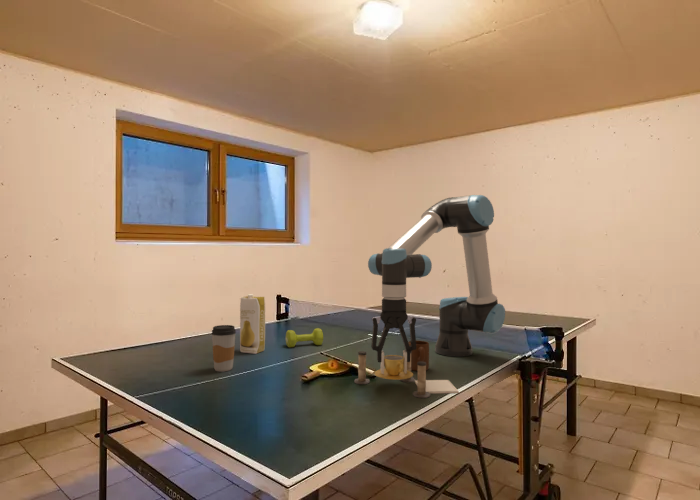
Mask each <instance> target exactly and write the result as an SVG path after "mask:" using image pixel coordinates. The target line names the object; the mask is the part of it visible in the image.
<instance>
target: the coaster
mask: <svg viewBox="0 0 700 500" xmlns="http://www.w3.org/2000/svg"><path fill="white" fill-rule="evenodd" d="M417 380H418V379H415V381H414V383H415V385H416V386H417ZM426 392H429V393H430V394H459V390H458V389H457V388H456V387H455V386H454V384H453V383H452V382H451V381H450V379H426Z"/></svg>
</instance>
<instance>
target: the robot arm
mask: <svg viewBox="0 0 700 500" xmlns="http://www.w3.org/2000/svg"><path fill="white" fill-rule="evenodd" d="M494 218H495V211H494V207H493V204H492V202H491V200H490V199H489V198H488V197H487V196H485V195H482V194H478V195H477V194H470V195H464V196H455V197H446V198H444V199H442V200H440V201H438V202H436V203H434V204H433V205H431V206H430V207H429V208H428V209H426V210H424V212H423V213H422V214H421V216H420V219H419V220H418V221H416V223H415V224H413V225H412V226H411V227H410V228H409V229H408V230H406V232H405V233H403V234H402V235H400V237H399V238H398V239H396V240H395V241H394V242H393V243H392V244H391V245H390V246H389V247H388V248H387V247H386V248H384V249H383V250H382V252H381V253H380V252H379V253H373V254H372V255H371V256H369V258H368V262H367V267H368V270H369V272H370V273H371V274H373V275H377V276H380V277H381V296H382V297H383V298H382V299H381V313H380V315H379V316H372V318H371V321H372V325H373V327H372V335H371V346H370V347H371V349H372V350H373V351H376V360H377V362H378V363H380V369H381V374H384V369H385V367H384V356H385V351H384V350H383V348H384V345H385V342H386V339H387V337H388V333H389V331H390V329H398V331H399V334H400V336H401V339H402V342H403V346H404V349H403V350H402V356H403V357H404V364H403V365H404V370H403V372H404V374H407V362H410V352H411V351H412V350H416V341H417V337H416V322H417V318H415V317H414V316H409V315H408V314H407V299H406V297H407V279H409V278H410V279H411V278H412V279H413V278H419V279H421V278H423V277H426V276H429V274H430V272H431V271H432V268H433V267H432V265H433V264H432V261H431V259H430V257H429V256H427V255H425V254H420V253H418V254H414V253H415V252H416V251H417V250H418V249H419V248H420V247H421V246H422V245H424V244H425V243H426V241H429V239H430V238H431V237H432V236H434V234H438V233H439V232H441V231H442V230H444V229H447V228H456V229H457V230H456V231H457V234H458V235H460V236H461V237H462V243H463V251H464V259H465V267H466V276H467V282H468V291H469V296H455V297H444V298H442V299H440V301H439V308H438V309H439V331H438V332H439V334H438V336H437V338H436V339H437V340H436V343H435V345H434V351H435V353H436V354H439V355H442V356H447V357H468V356H471V355H473V346H472V343H471V339H470V337H469V331H472V332H473V331H474V332H480V333H484V334H496V333H498V332H499V331H501V329H502V327H503V325H504V323H505V318H506V309H505V306H504V305H503V304H502V303H499V302H498V297H497V295H495V294H494V293H493V285H492V278H491V268H490V261H489V253H488V250H489V249H488V241H487V235H486V234H487V232H489V230H490V226H491V225H492V224H493V222H494ZM380 321H382V322H383V324H384V326H383V330H382V332H381V336H380V338H379V342H378V341H377V340H378V332H379V331H378V330H379V329H378V328H379V326H378V325H379V324H380ZM406 321H407V323H408V325H409V337H410V341H411V346H409V343H408V342H409V341H408V337H407V335H406V334H407V333H406V331H405V328H404V324H405V323H406ZM377 342H378V345H377Z"/></svg>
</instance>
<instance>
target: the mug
mask: <svg viewBox="0 0 700 500" xmlns="http://www.w3.org/2000/svg"><path fill="white" fill-rule="evenodd" d="M408 343H409V346H411V340H410V341H408ZM419 361H423V362H426V371H428V370H429V368H430V343H429V341H424V340H416V350H412V353H411V371H415V372H418V365H417V362H419Z"/></svg>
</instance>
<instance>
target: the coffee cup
mask: <svg viewBox="0 0 700 500" xmlns="http://www.w3.org/2000/svg"><path fill="white" fill-rule="evenodd" d="M236 330H237V329H236V328H235V326H234V325H232V324H230V325H229V324H223V325H222V324H221V325H215V326H213V327H212V329H211V335H212V336H211V338H212V339H211V340H212V356H213V357H212V359H213V368H214V370H215V372H220V373H221V372H229V371H232V370H233V368H234V357H235V347H236V346H235V345H236V344H235V343H236V342H235V341H236V333H237V331H236Z"/></svg>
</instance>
